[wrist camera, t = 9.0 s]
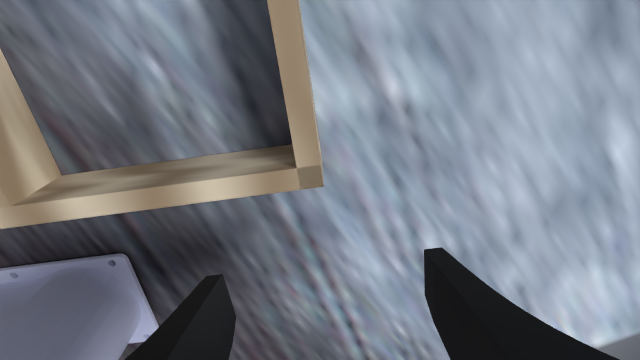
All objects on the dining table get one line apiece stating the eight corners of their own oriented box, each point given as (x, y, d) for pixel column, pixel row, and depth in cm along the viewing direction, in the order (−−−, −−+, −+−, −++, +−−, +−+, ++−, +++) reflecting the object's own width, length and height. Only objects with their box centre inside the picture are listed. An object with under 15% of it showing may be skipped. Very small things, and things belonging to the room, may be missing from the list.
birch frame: (52, 195, 22) (0, 228, 19) (-60, -23, 17) (-160, -35, 14) (321, 159, 22) (323, 186, 18) (287, -79, 17) (280, -108, 13)
